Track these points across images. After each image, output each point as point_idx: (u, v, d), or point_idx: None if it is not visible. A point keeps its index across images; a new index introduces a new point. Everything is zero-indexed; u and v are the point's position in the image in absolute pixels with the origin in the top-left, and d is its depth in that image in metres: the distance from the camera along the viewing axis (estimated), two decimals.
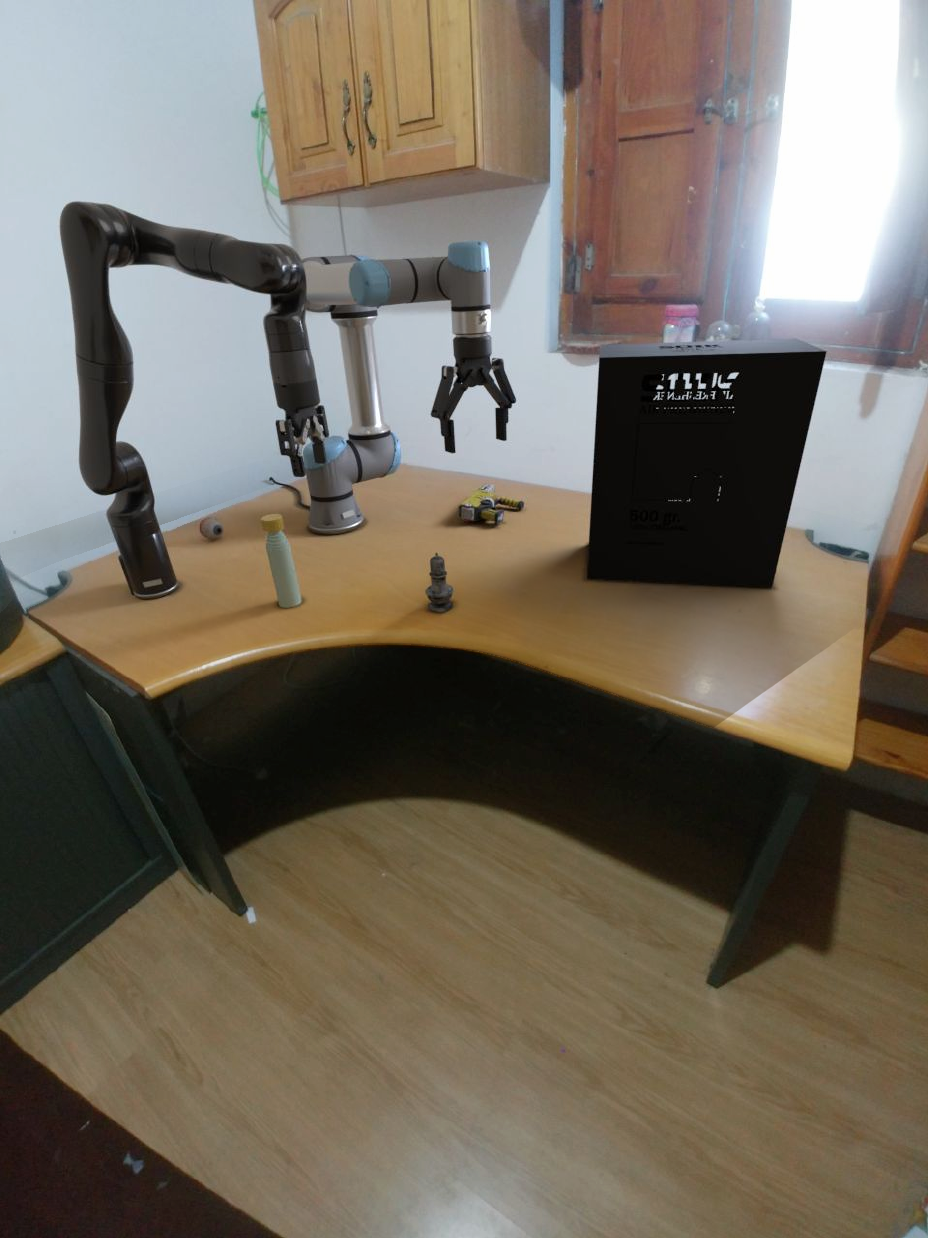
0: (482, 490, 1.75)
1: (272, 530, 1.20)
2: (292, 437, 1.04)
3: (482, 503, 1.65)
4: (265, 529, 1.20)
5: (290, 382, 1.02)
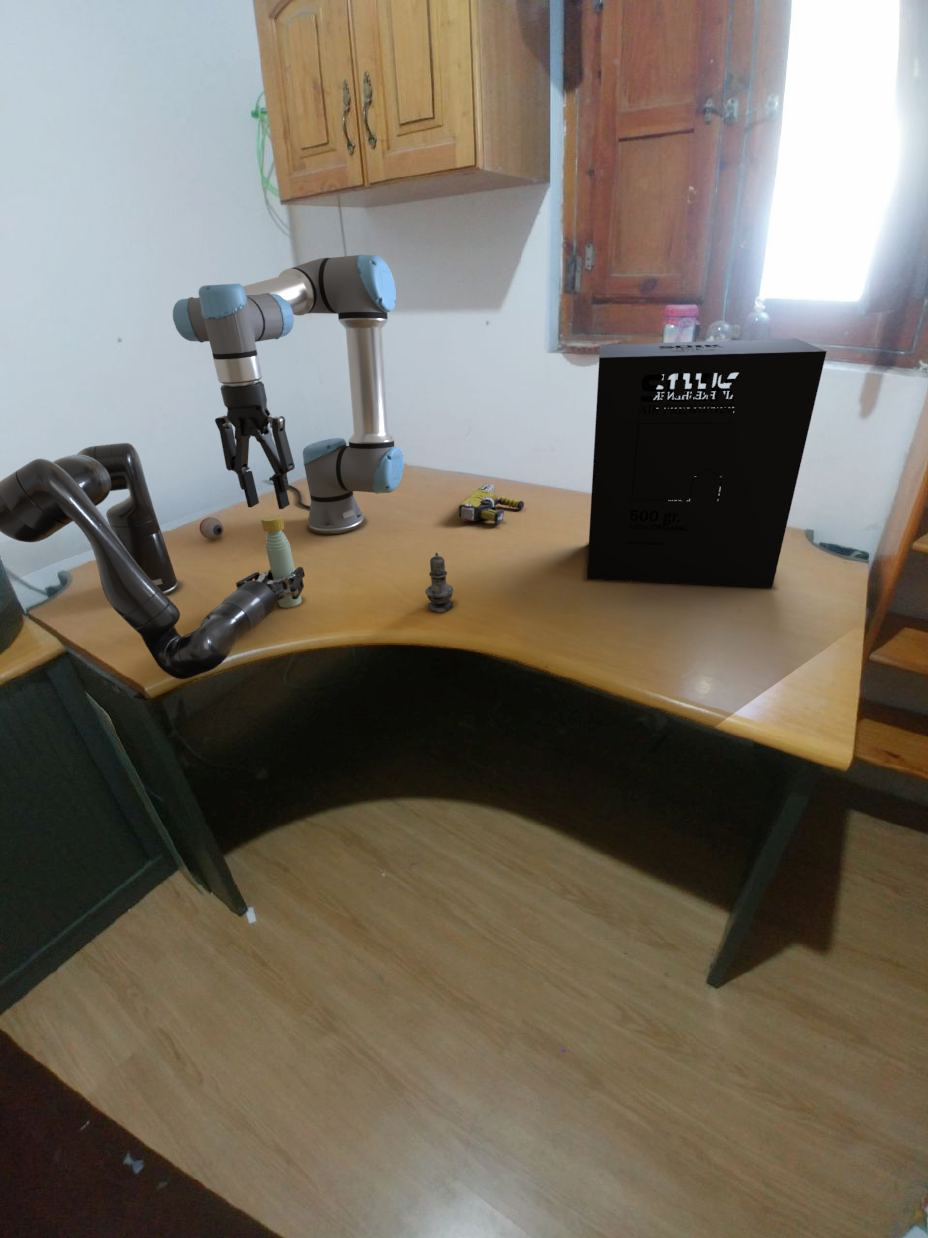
0: (482, 490, 1.75)
1: (272, 530, 1.20)
2: None
3: (482, 503, 1.65)
4: (265, 529, 1.20)
5: None
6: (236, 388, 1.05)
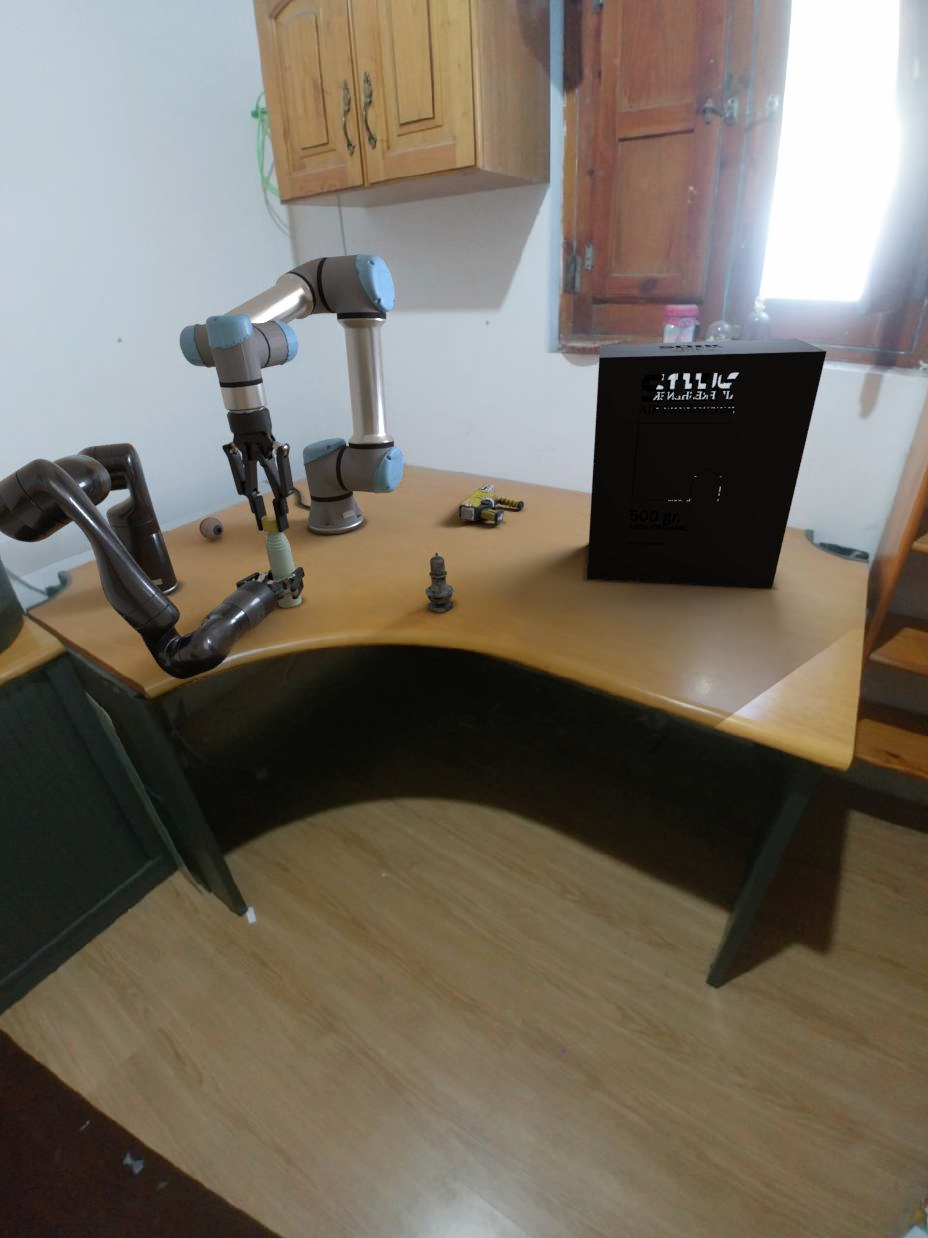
0: (482, 490, 1.75)
1: (272, 530, 1.20)
2: None
3: (482, 503, 1.65)
4: (265, 529, 1.20)
5: None
6: (242, 415, 1.07)
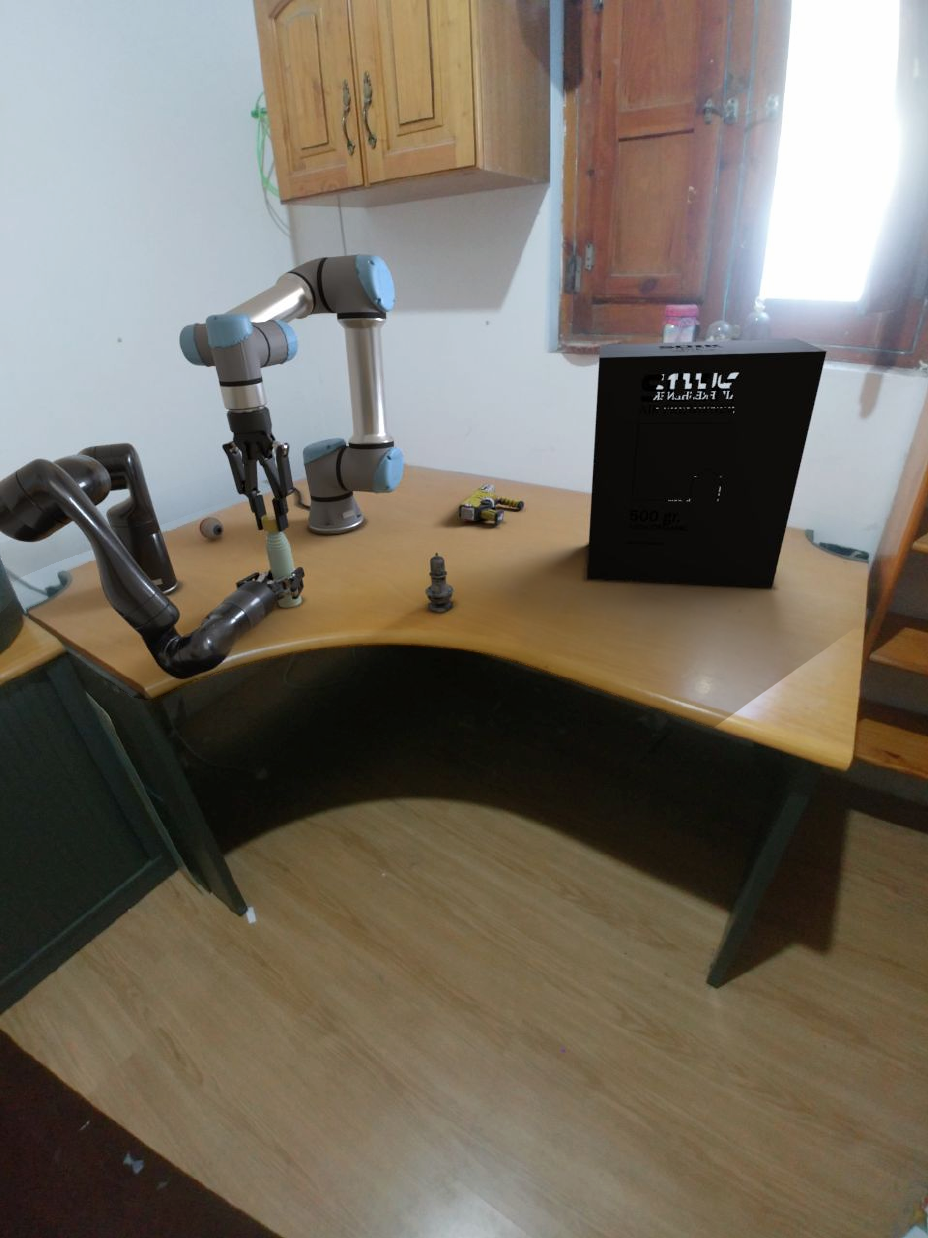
0: (482, 490, 1.75)
1: None
2: None
3: (482, 503, 1.65)
4: None
5: None
6: (242, 414, 1.07)
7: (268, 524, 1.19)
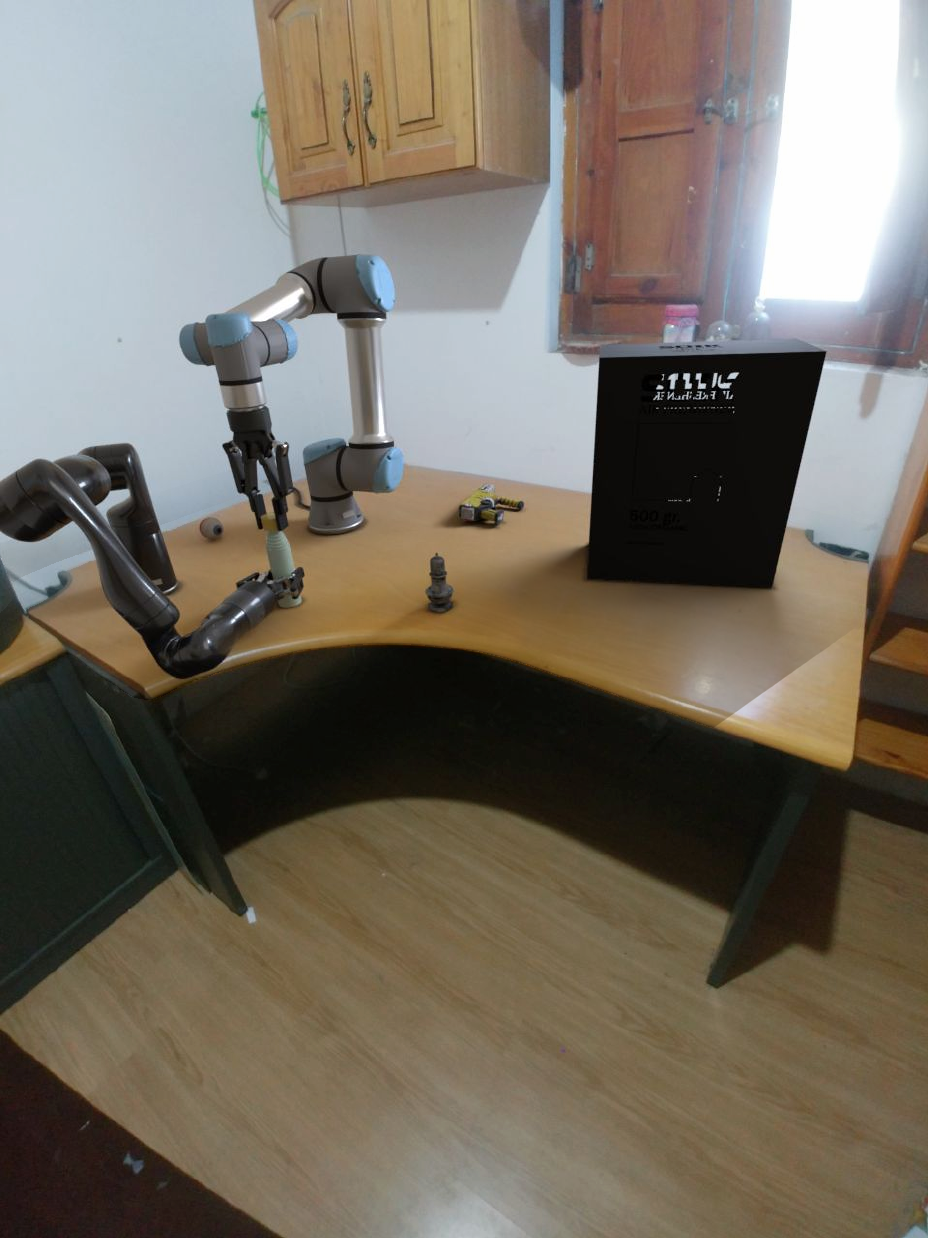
0: (482, 490, 1.75)
1: (263, 527, 1.21)
2: None
3: (482, 503, 1.65)
4: None
5: None
6: (241, 414, 1.07)
7: None
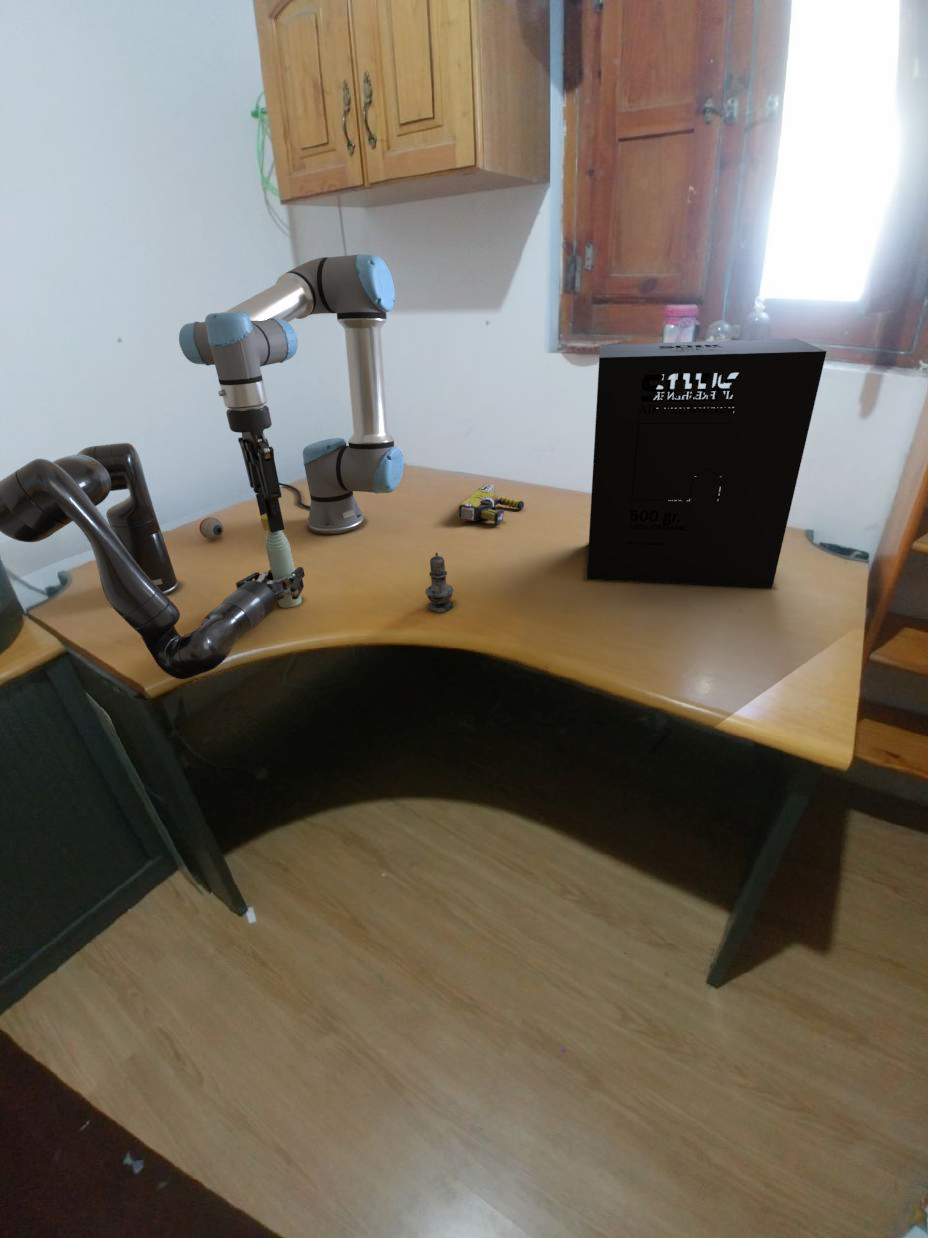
0: (482, 490, 1.75)
1: None
2: None
3: (482, 503, 1.65)
4: None
5: None
6: None
7: None
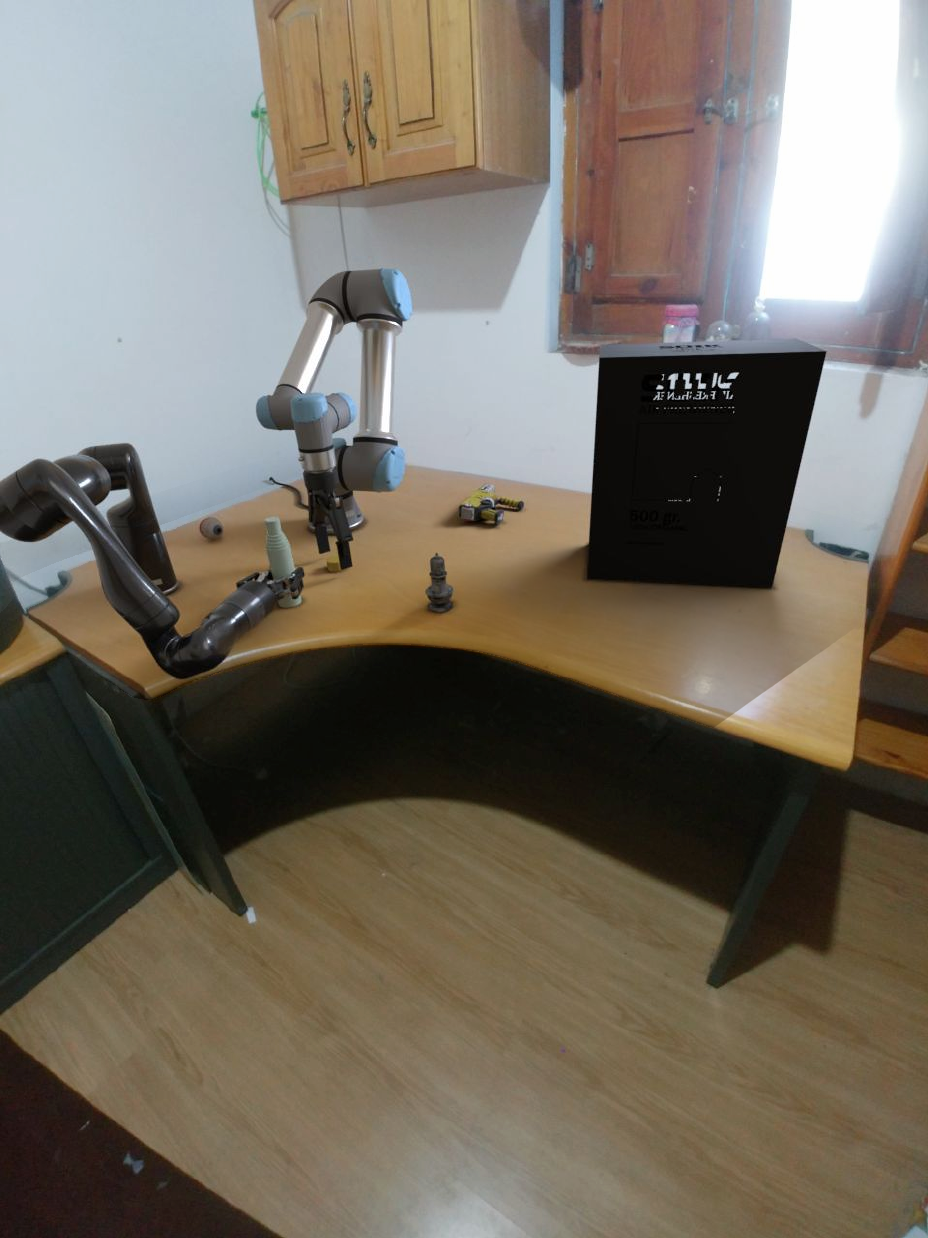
0: (482, 490, 1.75)
1: None
2: None
3: (482, 503, 1.65)
4: (340, 568, 1.43)
5: None
6: None
7: (327, 563, 1.43)
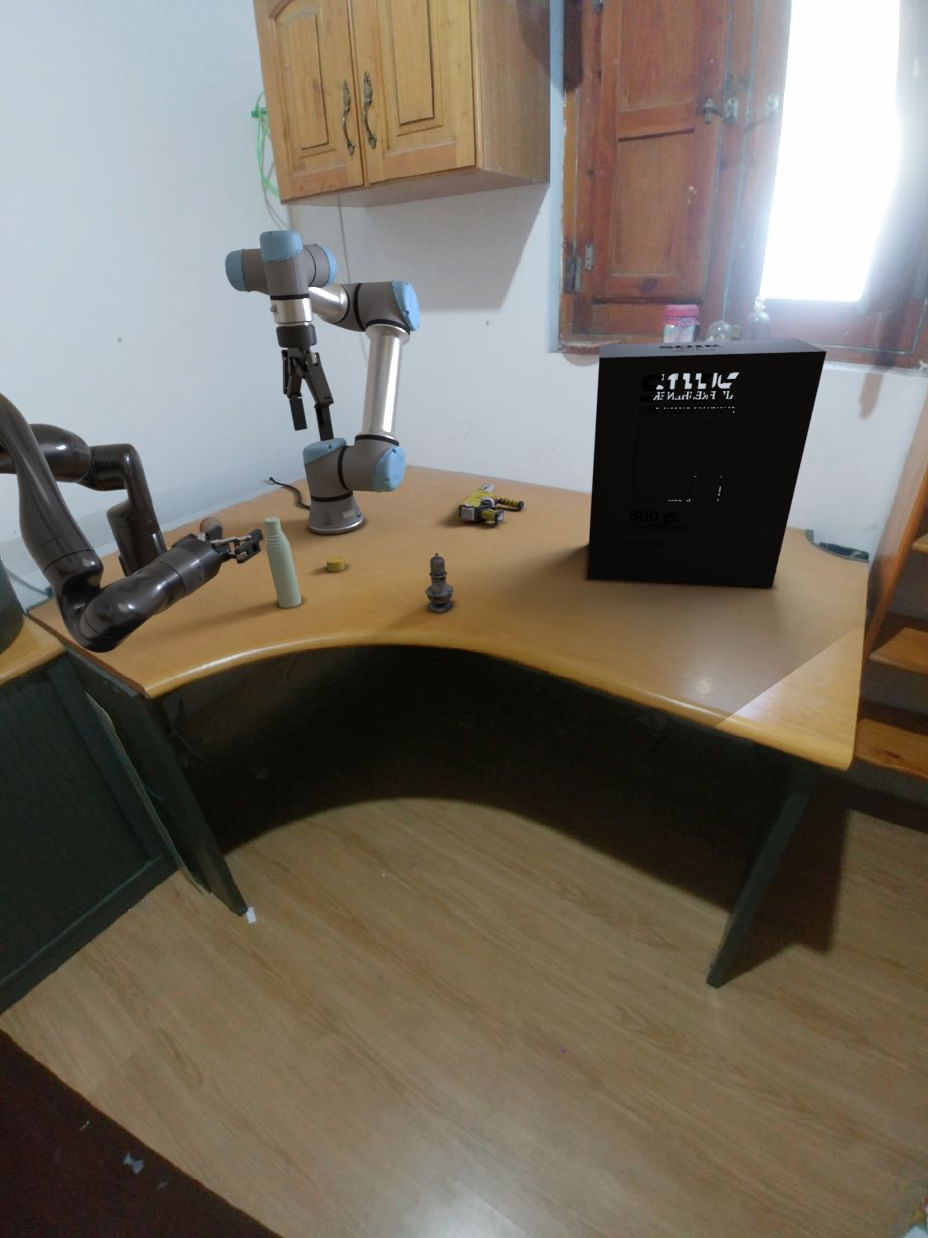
0: (482, 490, 1.75)
1: (344, 567, 1.44)
2: None
3: (482, 503, 1.65)
4: (340, 568, 1.43)
5: None
6: None
7: (327, 563, 1.43)
